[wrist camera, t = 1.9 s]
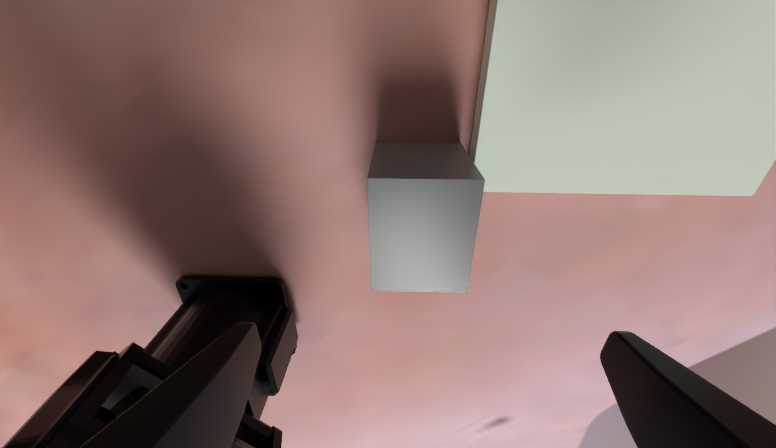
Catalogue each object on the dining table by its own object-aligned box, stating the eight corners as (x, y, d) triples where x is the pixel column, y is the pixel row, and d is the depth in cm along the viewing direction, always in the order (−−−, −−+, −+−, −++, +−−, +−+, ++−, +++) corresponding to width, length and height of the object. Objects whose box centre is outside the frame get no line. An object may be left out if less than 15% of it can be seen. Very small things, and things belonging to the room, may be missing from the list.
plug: (377, 230, 18) (370, 290, 13) (376, 140, 15) (367, 178, 11) (449, 231, 17) (466, 292, 13) (459, 141, 15) (485, 179, 11)
